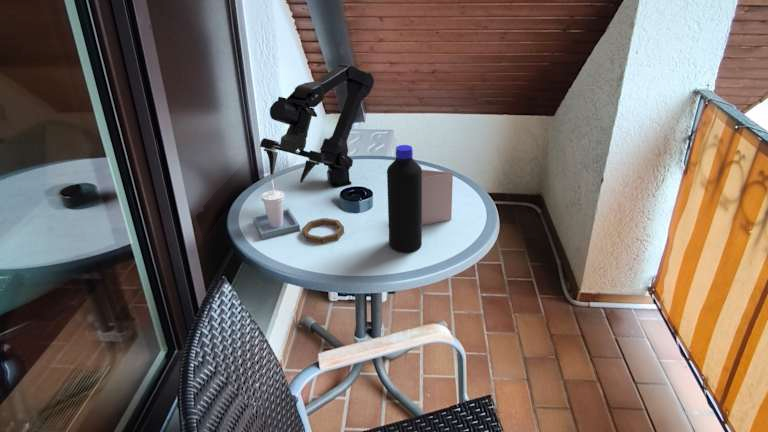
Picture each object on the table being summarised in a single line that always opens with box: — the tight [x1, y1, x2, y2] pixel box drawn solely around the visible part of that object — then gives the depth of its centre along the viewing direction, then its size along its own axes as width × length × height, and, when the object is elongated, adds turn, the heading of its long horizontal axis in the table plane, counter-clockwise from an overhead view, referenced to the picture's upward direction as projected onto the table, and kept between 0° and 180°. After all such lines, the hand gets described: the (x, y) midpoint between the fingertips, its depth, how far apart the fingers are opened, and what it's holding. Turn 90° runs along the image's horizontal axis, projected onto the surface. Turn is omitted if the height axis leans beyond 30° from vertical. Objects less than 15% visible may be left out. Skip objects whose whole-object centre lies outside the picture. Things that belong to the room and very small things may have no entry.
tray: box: [252, 208, 301, 241], centre depth 157 cm, size 11×11×2 cm
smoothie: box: [261, 179, 285, 228], centre depth 154 cm, size 6×6×14 cm
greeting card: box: [422, 169, 454, 226], centre depth 154 cm, size 11×7×15 cm, turn 72°
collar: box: [301, 217, 345, 245], centre depth 153 cm, size 11×11×2 cm
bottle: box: [386, 144, 423, 254], centre depth 140 cm, size 9×9×28 cm
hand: (286, 178), depth 162 cm, fingers open, 9 cm apart
